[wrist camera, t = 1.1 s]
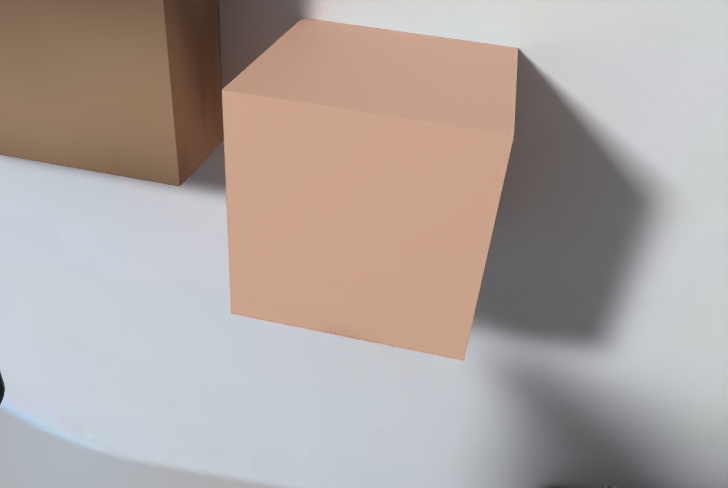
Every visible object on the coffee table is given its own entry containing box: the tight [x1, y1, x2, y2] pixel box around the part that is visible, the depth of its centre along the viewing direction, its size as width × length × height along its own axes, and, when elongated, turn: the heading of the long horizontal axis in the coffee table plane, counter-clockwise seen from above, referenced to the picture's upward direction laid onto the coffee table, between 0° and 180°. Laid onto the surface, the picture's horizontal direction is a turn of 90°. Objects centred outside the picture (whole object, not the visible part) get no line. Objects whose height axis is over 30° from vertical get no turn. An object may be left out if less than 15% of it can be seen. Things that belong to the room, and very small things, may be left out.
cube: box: [222, 18, 518, 360], centre depth 16 cm, size 6×6×6 cm
